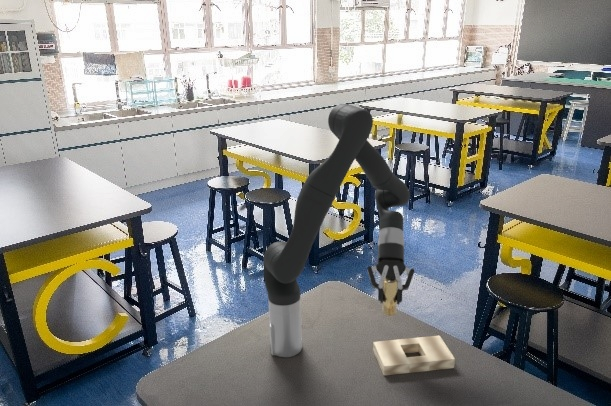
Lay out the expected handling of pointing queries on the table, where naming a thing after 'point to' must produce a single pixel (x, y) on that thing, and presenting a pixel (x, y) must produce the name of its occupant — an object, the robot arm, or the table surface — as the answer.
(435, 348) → the jig
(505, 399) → the table surface
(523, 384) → the table surface
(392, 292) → the bushing
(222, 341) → the table surface
